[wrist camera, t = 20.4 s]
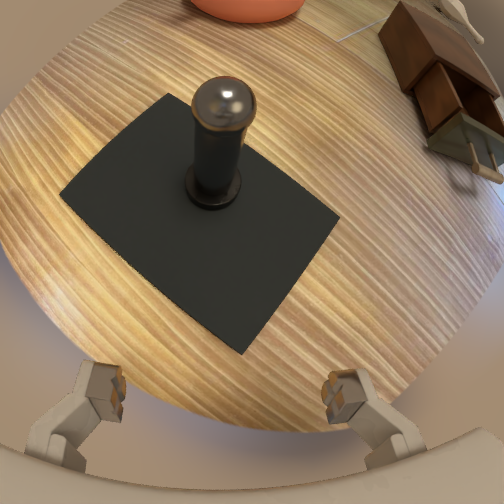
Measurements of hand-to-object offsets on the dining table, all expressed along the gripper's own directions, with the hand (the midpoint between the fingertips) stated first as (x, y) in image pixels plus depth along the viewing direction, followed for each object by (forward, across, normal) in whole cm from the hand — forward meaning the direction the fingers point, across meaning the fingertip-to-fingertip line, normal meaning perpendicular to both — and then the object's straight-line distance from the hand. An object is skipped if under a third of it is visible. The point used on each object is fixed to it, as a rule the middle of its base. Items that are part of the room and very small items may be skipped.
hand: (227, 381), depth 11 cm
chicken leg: (+66, -63, -50) cm, 104 cm away
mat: (+16, +2, 0) cm, 16 cm away
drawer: (+26, -30, -11) cm, 41 cm away
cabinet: (+36, -30, -20) cm, 50 cm away
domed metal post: (+17, +1, -2) cm, 17 cm away
